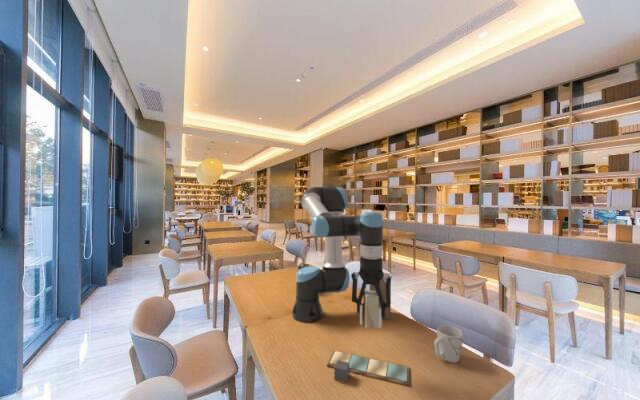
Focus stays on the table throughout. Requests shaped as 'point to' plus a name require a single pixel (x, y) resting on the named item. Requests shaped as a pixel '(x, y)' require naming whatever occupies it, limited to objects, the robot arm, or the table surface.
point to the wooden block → (383, 288)
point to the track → (372, 367)
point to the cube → (341, 371)
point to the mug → (448, 343)
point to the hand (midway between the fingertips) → (370, 324)
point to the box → (371, 309)
